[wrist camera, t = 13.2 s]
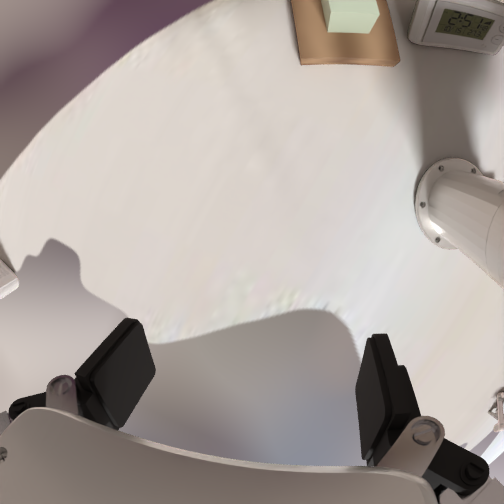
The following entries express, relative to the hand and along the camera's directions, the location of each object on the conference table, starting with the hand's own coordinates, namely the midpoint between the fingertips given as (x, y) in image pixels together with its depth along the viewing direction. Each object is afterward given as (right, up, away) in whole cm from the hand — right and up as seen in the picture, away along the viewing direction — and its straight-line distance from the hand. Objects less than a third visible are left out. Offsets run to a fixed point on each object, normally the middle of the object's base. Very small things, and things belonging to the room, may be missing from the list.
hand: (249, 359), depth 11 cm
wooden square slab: (+11, +33, +15) cm, 38 cm away
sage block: (+11, +32, +13) cm, 36 cm away
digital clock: (+27, +34, +12) cm, 46 cm away
